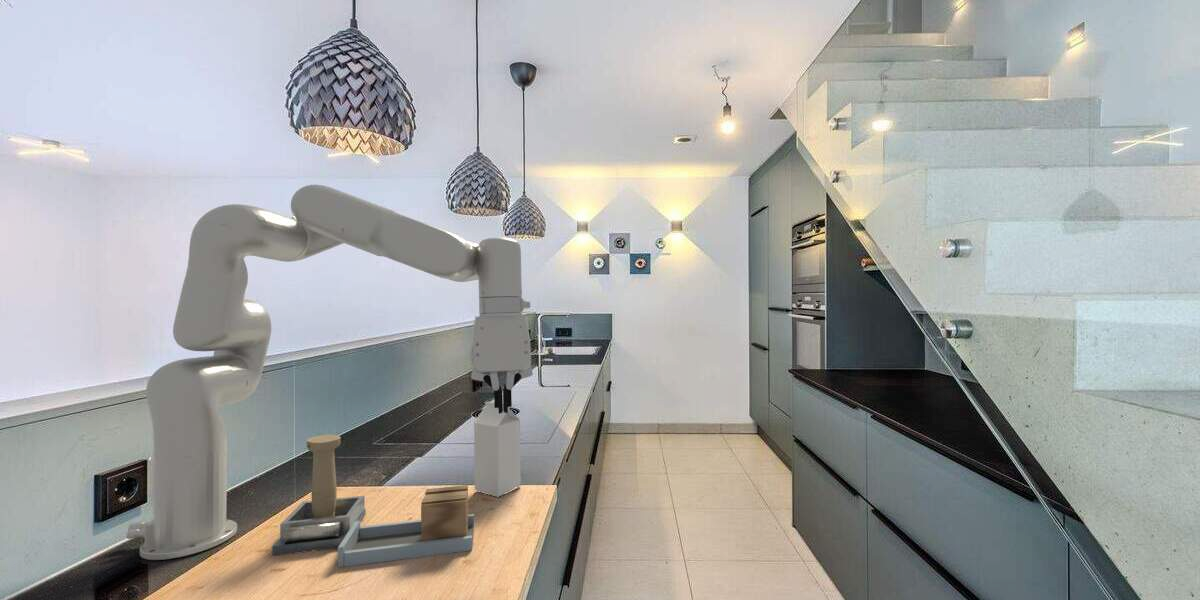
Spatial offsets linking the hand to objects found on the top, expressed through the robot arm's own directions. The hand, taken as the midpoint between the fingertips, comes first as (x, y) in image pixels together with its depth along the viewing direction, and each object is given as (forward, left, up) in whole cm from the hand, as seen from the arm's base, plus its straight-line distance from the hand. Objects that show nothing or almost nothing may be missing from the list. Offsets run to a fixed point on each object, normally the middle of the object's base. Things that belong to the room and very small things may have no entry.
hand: (503, 411), depth 82 cm
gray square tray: (-31, +8, -21) cm, 39 cm away
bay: (-15, 0, -21) cm, 26 cm away
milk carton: (-1, +21, -22) cm, 30 cm away
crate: (-10, 0, -21) cm, 23 cm away
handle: (-31, +9, -20) cm, 38 cm away
